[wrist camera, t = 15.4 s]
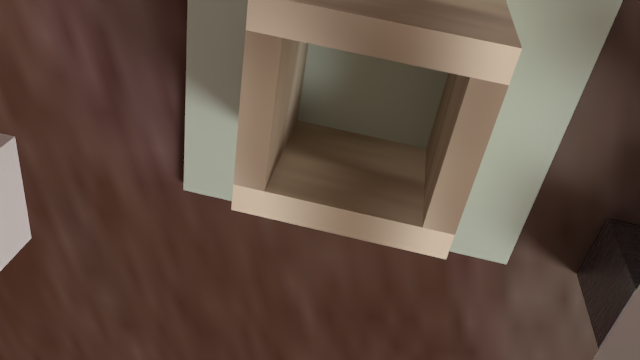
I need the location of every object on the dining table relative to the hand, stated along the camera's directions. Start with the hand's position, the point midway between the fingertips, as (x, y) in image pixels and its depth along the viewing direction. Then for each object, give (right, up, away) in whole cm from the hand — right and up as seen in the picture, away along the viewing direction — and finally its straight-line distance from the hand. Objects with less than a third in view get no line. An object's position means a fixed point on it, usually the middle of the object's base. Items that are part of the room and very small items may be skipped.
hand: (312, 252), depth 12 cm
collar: (+2, +5, +8) cm, 10 cm away
